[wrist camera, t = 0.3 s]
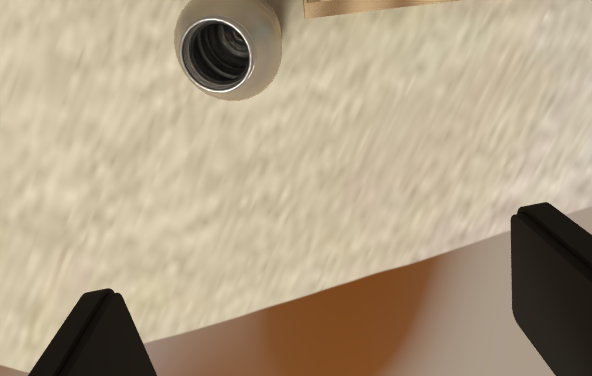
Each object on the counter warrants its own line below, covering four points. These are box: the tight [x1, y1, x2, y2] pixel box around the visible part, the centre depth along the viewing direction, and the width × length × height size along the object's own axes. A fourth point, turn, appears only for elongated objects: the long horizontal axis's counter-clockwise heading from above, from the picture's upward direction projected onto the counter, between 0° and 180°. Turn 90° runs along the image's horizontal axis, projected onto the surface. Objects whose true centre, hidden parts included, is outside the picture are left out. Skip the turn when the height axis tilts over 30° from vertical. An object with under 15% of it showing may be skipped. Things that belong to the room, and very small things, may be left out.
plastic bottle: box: [174, 0, 282, 101], centre depth 31 cm, size 6×7×20 cm
